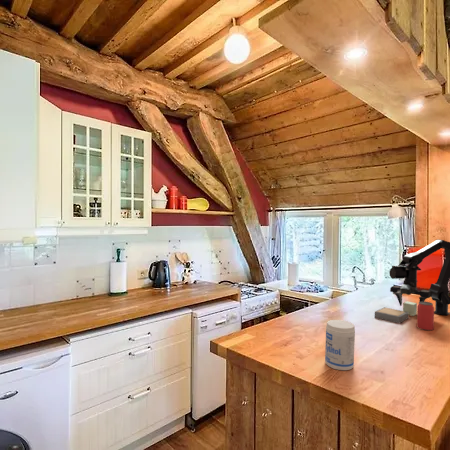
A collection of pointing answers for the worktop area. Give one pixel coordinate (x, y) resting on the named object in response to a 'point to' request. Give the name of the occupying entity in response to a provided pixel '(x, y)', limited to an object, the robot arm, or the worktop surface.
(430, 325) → the beer can
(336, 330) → the supplement tub
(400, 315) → the slate base
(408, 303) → the cream block
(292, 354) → the worktop surface
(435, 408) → the worktop surface
